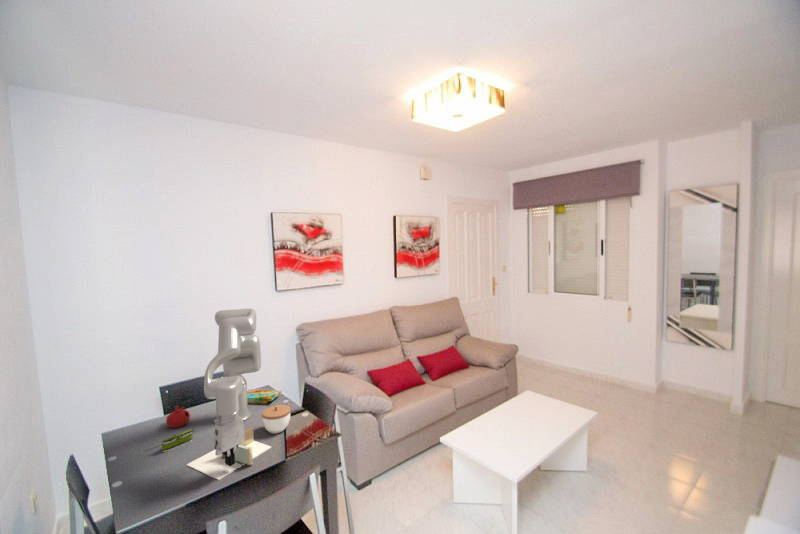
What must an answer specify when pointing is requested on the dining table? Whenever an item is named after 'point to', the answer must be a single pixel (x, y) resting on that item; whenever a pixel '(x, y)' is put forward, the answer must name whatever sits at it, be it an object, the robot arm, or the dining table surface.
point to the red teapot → (178, 418)
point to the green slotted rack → (176, 441)
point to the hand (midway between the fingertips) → (230, 464)
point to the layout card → (223, 462)
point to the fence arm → (244, 455)
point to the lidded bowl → (276, 418)
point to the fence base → (246, 438)
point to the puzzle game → (261, 396)
